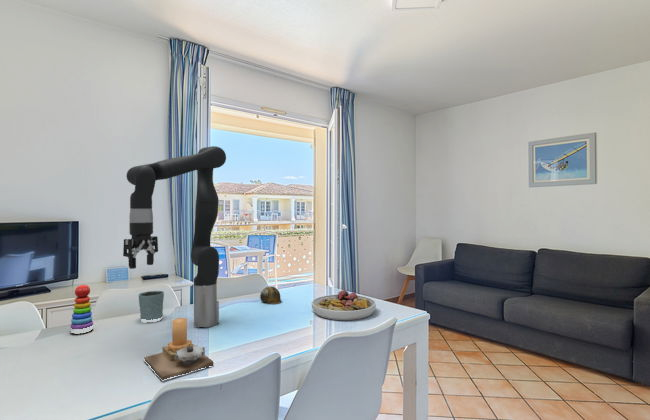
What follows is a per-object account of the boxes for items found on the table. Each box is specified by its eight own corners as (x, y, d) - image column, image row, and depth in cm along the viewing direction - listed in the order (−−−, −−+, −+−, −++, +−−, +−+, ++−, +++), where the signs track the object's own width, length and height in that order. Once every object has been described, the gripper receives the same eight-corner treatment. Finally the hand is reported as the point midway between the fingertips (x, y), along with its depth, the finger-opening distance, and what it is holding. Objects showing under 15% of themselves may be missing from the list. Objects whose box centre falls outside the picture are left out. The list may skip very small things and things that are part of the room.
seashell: (256, 302, 185) (256, 287, 185) (269, 298, 192) (269, 284, 192) (271, 306, 178) (271, 290, 178) (284, 302, 185) (284, 286, 185)
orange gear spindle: (187, 347, 120) (186, 315, 120) (195, 353, 115) (195, 320, 115) (163, 353, 116) (163, 319, 115) (171, 360, 110) (171, 325, 110)
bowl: (379, 322, 151) (379, 304, 151) (309, 322, 152) (309, 304, 152) (371, 304, 181) (371, 288, 181) (313, 304, 182) (313, 288, 182)
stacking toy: (65, 336, 136) (65, 287, 136) (74, 329, 143) (74, 283, 143) (89, 334, 138) (89, 286, 138) (96, 327, 146) (96, 282, 146)
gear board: (191, 349, 123) (191, 331, 123) (213, 366, 109) (213, 346, 109) (144, 361, 113) (144, 342, 113) (162, 382, 99) (162, 360, 99)
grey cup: (145, 325, 148) (145, 297, 148) (134, 321, 154) (134, 293, 154) (168, 319, 156) (168, 292, 156) (157, 315, 162) (156, 289, 162)
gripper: (135, 222, 119) (135, 270, 119) (163, 220, 133) (164, 263, 133) (116, 222, 121) (116, 269, 121) (146, 220, 135) (146, 263, 135)
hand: (141, 266), depth 127 cm, fingers open, 8 cm apart
